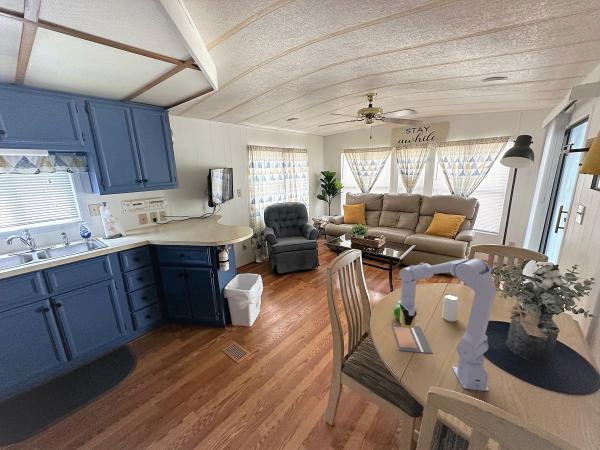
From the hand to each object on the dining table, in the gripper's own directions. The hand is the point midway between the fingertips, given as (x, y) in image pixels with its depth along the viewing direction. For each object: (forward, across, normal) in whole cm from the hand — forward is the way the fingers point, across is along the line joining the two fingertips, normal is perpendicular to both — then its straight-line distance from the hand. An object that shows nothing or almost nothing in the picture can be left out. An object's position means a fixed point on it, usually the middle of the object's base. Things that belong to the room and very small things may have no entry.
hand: (406, 321), depth 110 cm
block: (+2, 0, 0) cm, 2 cm away
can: (+9, -18, +25) cm, 32 cm away
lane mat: (+8, 0, +2) cm, 9 cm away
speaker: (+9, -21, +4) cm, 23 cm away
